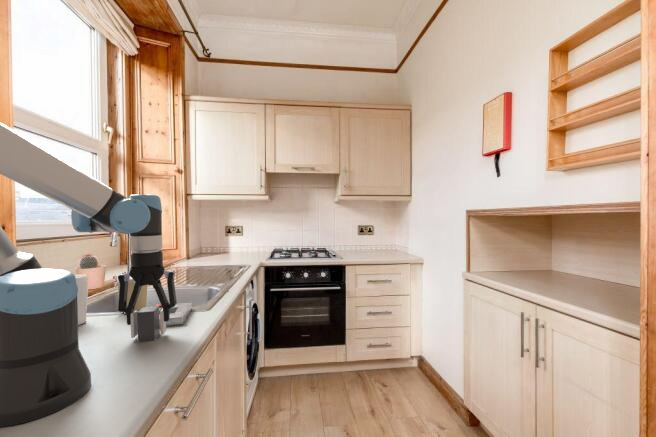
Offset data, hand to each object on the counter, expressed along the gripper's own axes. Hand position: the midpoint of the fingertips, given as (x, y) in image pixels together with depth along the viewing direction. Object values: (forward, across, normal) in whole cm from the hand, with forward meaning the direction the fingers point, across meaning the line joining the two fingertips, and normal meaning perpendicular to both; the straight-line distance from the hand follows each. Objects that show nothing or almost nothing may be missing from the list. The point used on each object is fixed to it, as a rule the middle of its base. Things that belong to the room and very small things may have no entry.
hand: (149, 334), depth 85 cm
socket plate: (+1, -1, -16) cm, 16 cm away
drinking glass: (+1, +26, -19) cm, 32 cm away
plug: (+1, 0, 0) cm, 1 cm away
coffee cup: (+1, +13, -29) cm, 32 cm away
